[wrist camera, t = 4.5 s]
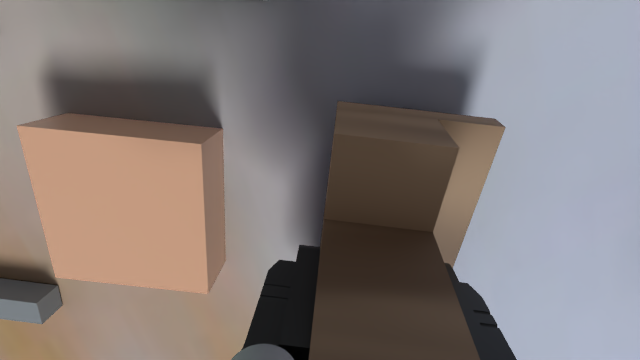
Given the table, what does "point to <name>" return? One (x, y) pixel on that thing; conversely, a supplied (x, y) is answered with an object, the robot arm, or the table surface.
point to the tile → (129, 199)
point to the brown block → (397, 233)
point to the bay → (28, 301)
